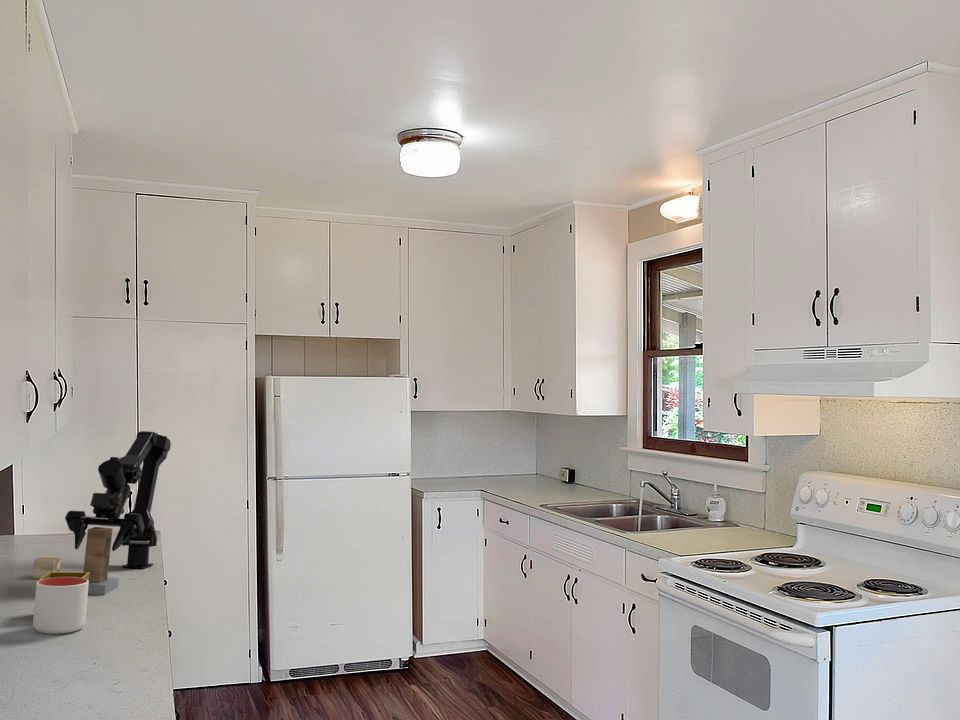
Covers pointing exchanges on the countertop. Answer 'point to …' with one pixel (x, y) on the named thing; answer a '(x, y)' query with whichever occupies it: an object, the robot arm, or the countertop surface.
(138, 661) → the countertop surface
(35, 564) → the maple cube
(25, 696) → the countertop surface
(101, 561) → the walnut block
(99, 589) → the grey base block
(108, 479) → the robot arm
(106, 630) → the countertop surface
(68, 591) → the cup
